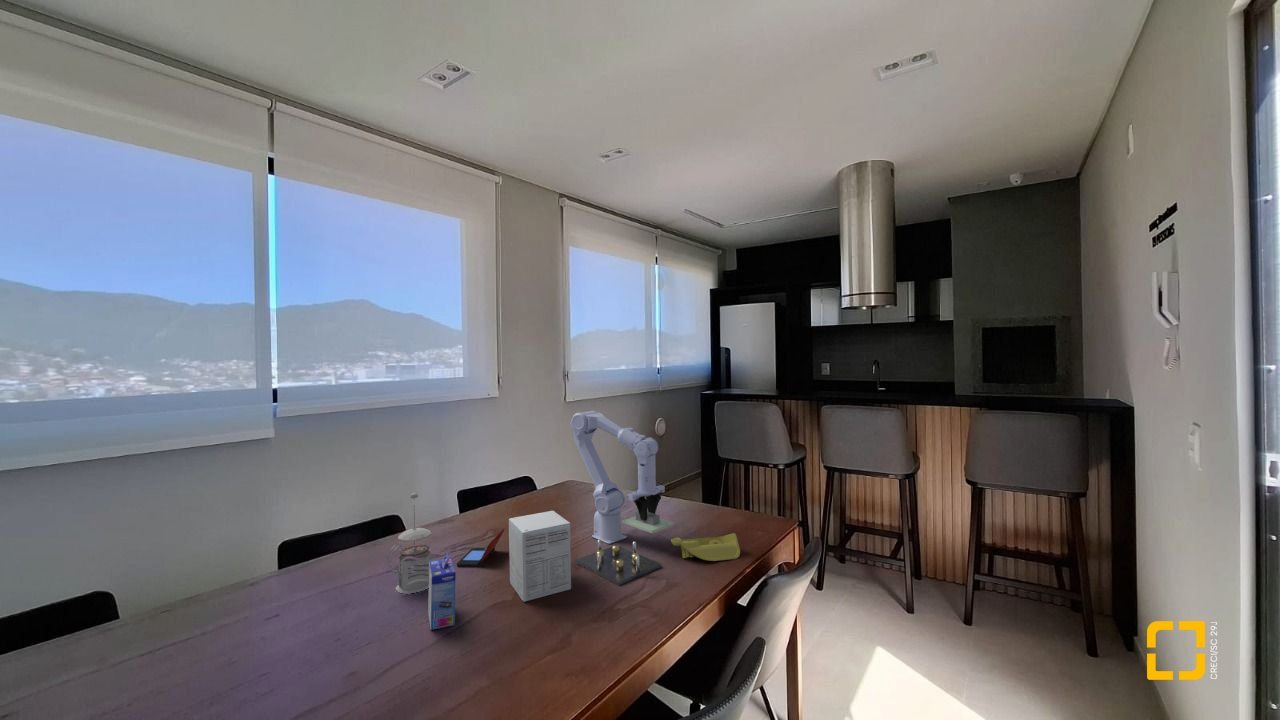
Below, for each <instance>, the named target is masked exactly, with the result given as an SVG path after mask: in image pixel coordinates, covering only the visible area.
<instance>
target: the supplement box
mask: <svg viewBox="0 0 1280 720" xmlns="http://www.w3.org/2000/svg"><path fill="white" fill-rule="evenodd" d="M508 544H509V583H510V584H511V586H512V588H513V589H514V591H515V592H516V593H517V596H519V597H520V599H521V600H522V601H523V602H524V603H525V602H529V601H532V600H536V599H539V598H542V597H546V596H549V595H555V594H557V593H562V592H564V591H565V592H567V591H569V590H571V589H572V571H571V570H572V568H571V567H572V562H571V561H572V560H571V554H572V553H571V522H570V521H568V520H566V519H565V518H564V517H563V516H561V515H560V514H559V513H557V512H556V511H554V510H550V511H549V510H548V511H543V512H538V513H533V514H527V515H521V516H515V517H511V518H509V519H508Z"/></svg>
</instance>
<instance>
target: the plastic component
mask: <svg viewBox="0 0 1280 720" xmlns="http://www.w3.org/2000/svg"><path fill="white" fill-rule="evenodd" d="M738 540H739V539H738V536H737V535H736V533H730V534H726V535H723V536H722V535H721V536H713V537H711V536H709V537H700V538H698V537H697V538H686V539H684V538H683V539H682V538H680V537H674V538H672V539H670V541H671V544H672V545H673V546H674V547H680V548H681V555H682V559H687V558H686V557H690V558H694V557H696V558H698V559H699V560H703V561H710V562H717V561H727V560H728V561H729V560H737V559H738V558H739V557H740V555H741V548H740V545H739V541H738Z"/></svg>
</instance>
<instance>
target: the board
mask: <svg viewBox="0 0 1280 720" xmlns="http://www.w3.org/2000/svg"><path fill="white" fill-rule="evenodd" d="M621 524H624V525H627V526H631V527H632V528H636V529H638V530H641V531H644V532H646V533H650V534H654V533H657V532H659V531H662V530H666V529H667V528H670V527H673V526H674V525H675V522H673V521H670V520H667V519H663V518H661V517H660V514H656V513H655V514H654V513H650V512H648V511H647V520H646V521H644V520H641V518H640V514H639V511H638V510H637V511H635V515H633V516H631V517H627V518H625V519H621Z"/></svg>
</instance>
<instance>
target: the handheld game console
mask: <svg viewBox="0 0 1280 720" xmlns="http://www.w3.org/2000/svg"><path fill="white" fill-rule="evenodd" d="M504 531H505V529H501V530H500V532H499V533H498V534H497V535H496V536H495V537H494V538H493V539H492V540H491V541H490V542H489V544H488V546H487V547H472V548H471V549H470V550H468V552H467V553H466V554H465V555H464V556H463V557H461V559H459V561H458V562H456V567H458V568H481V567H482V566H483V564H484V563H485V562H486V561H487V557H488V556H489V557H491V555H493V553H495V551H496V546H497V543H498V542H499V540H500V539H501V537H502V535H503V534H504ZM489 557H488V558H489ZM481 565H482V566H481Z"/></svg>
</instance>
